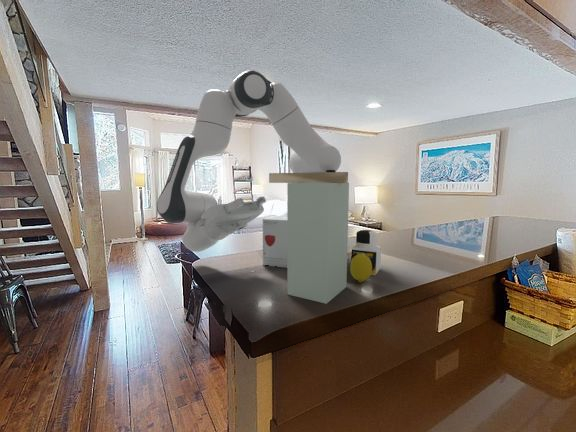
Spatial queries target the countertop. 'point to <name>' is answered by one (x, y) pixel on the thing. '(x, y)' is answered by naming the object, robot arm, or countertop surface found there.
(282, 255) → the supplement box
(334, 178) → the birch bar
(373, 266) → the medicine bottle
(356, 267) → the lemon
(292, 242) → the pedestal
